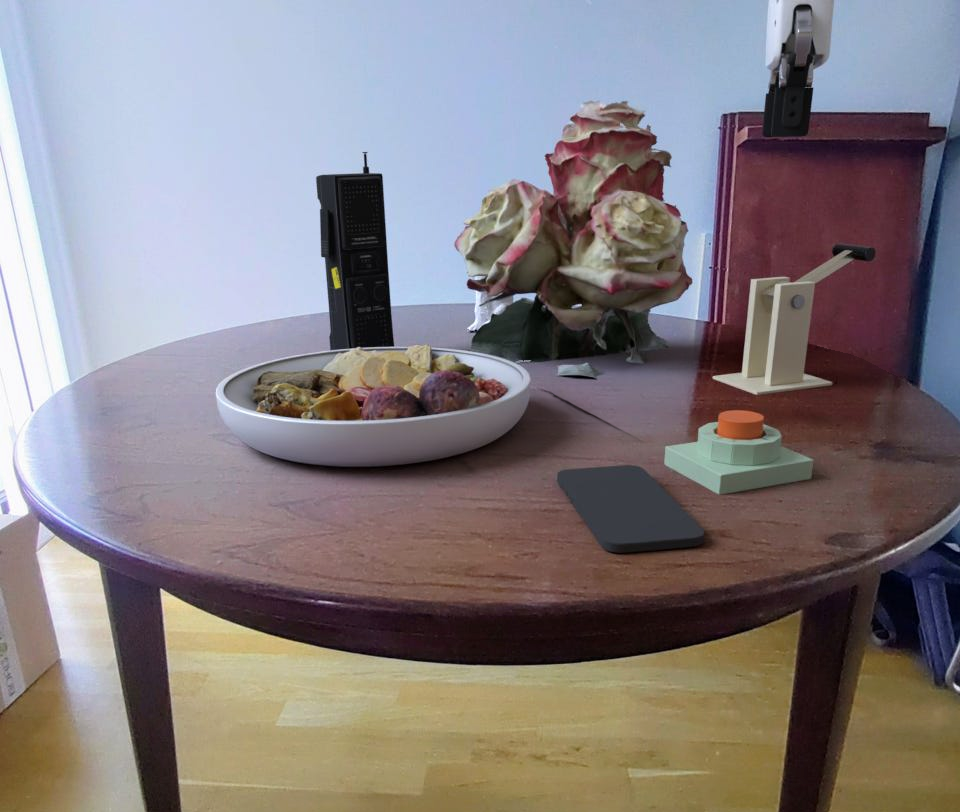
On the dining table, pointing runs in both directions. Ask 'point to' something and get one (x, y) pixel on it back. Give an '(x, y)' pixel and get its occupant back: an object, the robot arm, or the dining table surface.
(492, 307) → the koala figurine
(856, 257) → the lever
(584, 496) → the phone
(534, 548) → the dining table surface
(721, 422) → the button
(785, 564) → the dining table surface
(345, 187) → the portable radio
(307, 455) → the bowl
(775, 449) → the button block
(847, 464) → the dining table surface
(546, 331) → the rose bouquet
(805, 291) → the bracket
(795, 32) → the robot arm
